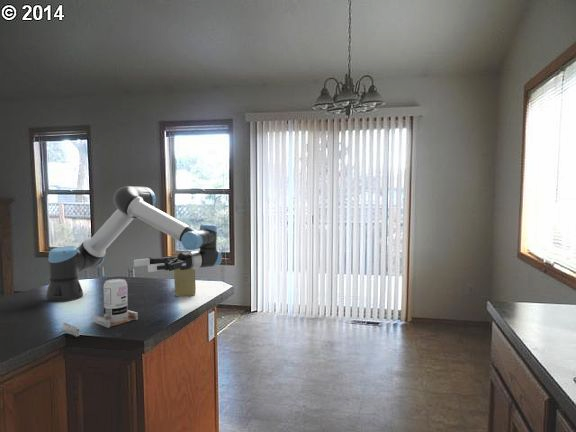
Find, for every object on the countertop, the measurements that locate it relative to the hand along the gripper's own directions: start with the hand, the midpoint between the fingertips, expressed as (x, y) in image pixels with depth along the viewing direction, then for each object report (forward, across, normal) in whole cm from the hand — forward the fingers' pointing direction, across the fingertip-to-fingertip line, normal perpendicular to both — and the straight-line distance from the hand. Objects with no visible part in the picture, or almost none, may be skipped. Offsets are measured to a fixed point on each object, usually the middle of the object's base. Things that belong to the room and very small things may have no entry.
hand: (140, 265), depth 156 cm
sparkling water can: (+11, -3, -19) cm, 22 cm away
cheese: (-32, +22, -20) cm, 43 cm away
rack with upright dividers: (+16, -4, -20) cm, 26 cm away
